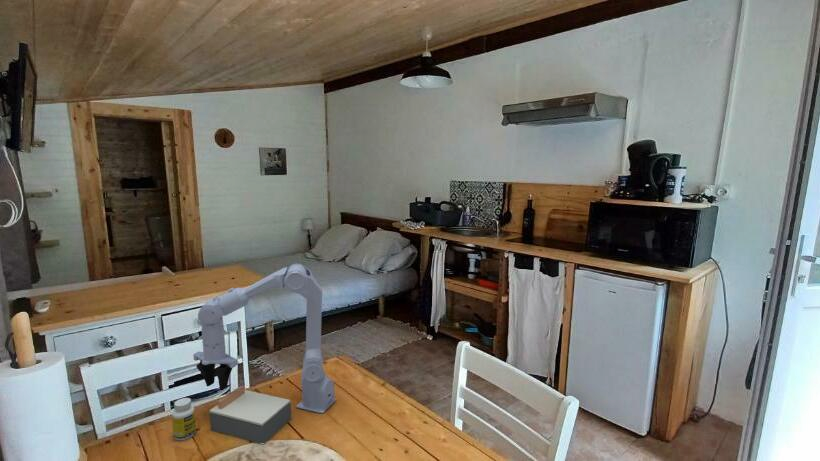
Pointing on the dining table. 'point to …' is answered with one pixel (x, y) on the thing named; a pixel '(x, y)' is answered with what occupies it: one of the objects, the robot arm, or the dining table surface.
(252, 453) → the dining table surface
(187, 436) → the supplement bottle
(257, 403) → the lid
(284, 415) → the gray open box
